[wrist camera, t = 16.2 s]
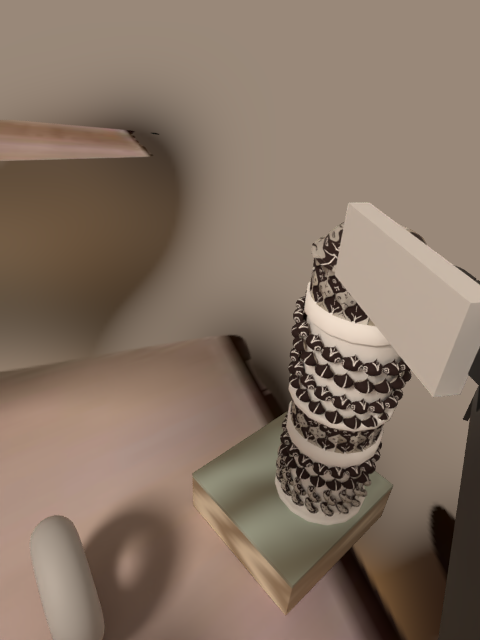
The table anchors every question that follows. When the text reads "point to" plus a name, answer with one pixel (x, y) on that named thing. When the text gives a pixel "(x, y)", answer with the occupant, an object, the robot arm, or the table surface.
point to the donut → (65, 581)
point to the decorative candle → (335, 397)
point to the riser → (275, 518)
